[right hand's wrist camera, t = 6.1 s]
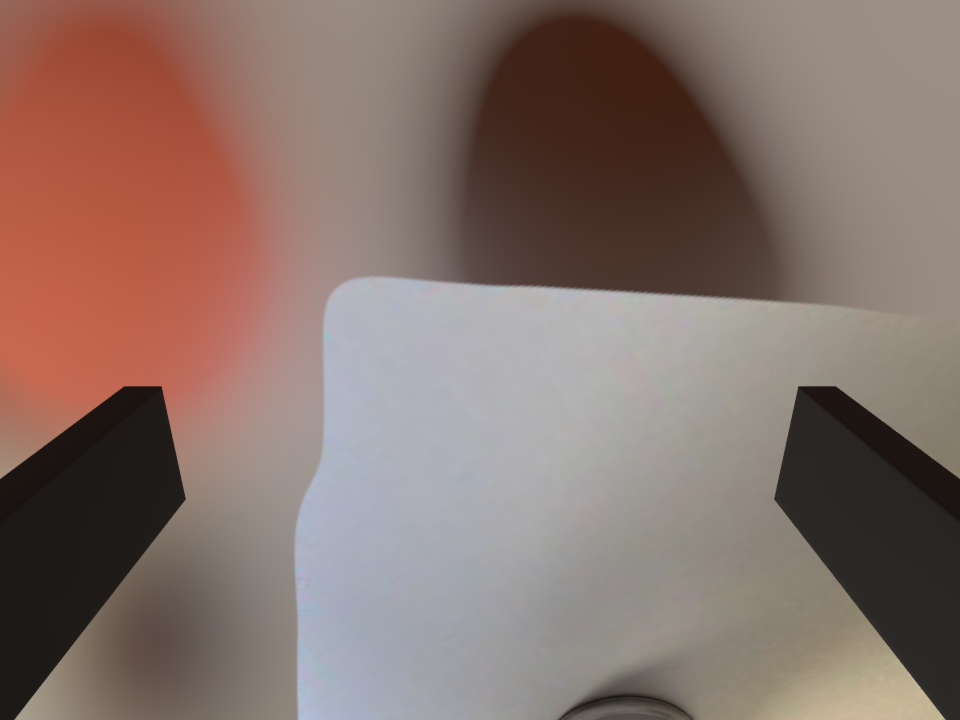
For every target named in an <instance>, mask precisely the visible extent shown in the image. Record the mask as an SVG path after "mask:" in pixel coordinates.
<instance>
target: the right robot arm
mask: <svg viewBox="0 0 960 720" xmlns="http://www.w3.org/2000/svg"><path fill="white" fill-rule="evenodd" d="M185 499H186V498H185V494H184V489H183V484H182V480H181V475H180V470H179V466H178V461H177V456H176V452H175V447H174V442H173V438H172V433H171V429H170V424H169V419H168V415H167V410H166V405H165V400H164V396H163V391H162V387H161V386H124V387H123V388H122V389H120V390H119V391H118V392H116V393H115V394H113V395H112V396H111V397H110V398H108V399H107V400H105V401H104V402H103V403H101V404H100V405H99V406H97V407H96V408H95V409H93V410H92V411H91V412H89V413H88V414H87V415H85V416H84V417H83V418H81V419H80V420H79V421H77V422H76V423H75V424H73V425H72V426H71V427H69V428H68V429H67V430H65V431H64V432H63V433H61V434H60V435H59V436H57V437H56V438H55V439H53V440H52V441H51V442H49V443H48V444H47V445H45V446H44V447H43V448H41V449H40V450H39V451H37V452H36V453H35V454H33V455H32V456H30V457H29V458H28V459H26V460H25V461H24V462H22V463H21V464H20V465H18V466H17V467H16V468H14V469H13V470H12V471H10V472H9V473H8V474H6V475H5V476H4V477H2V478H1V479H0V720H14V719H15V718H16V717H17V716H18V714H19V713H20V712H21V710H22V709H23V708H24V707H25V705H26V704H27V703H28V701H29V700H30V699H31V698H32V696H33V695H34V694H35V692H36V691H37V690H38V689H39V687H40V686H41V685H42V683H43V682H44V681H45V680H46V678H47V677H48V676H49V674H50V673H51V672H52V671H53V669H54V668H55V667H56V665H57V664H58V663H59V662H60V660H61V659H62V658H63V656H64V655H65V654H66V653H67V651H68V650H69V649H70V647H71V646H72V645H73V644H74V642H75V641H76V640H77V638H78V637H79V636H80V635H81V633H82V632H83V631H84V629H85V628H86V627H87V626H88V624H89V623H90V622H91V620H92V619H93V618H94V617H95V615H96V614H97V613H98V611H99V610H100V609H101V608H102V606H103V605H104V604H105V602H106V601H107V600H108V599H109V597H110V596H111V595H112V593H113V592H114V591H115V590H116V588H117V587H118V586H119V584H120V583H121V582H122V581H123V579H124V578H125V577H126V575H127V574H128V573H129V572H130V570H131V569H132V568H133V566H134V565H135V564H136V563H137V561H138V560H139V559H140V557H141V556H142V555H143V554H144V552H145V551H146V550H147V548H148V547H149V546H150V545H151V543H152V542H153V541H154V539H155V538H156V537H157V535H158V534H159V533H160V532H161V530H162V529H163V528H164V527H165V525H166V524H167V523H168V521H169V520H170V519H171V518H172V516H173V515H174V514H175V512H176V511H177V510H178V509H179V507H180V506H181V505H182V503H183V502H184V501H185ZM774 500H775V501H776V502H777V503H778V505H779V506H780V507H781V509H782V510H783V511H784V512H785V514H786V515H787V516H788V518H789V519H790V520H791V521H792V523H793V524H794V525H795V527H796V528H797V529H798V530H799V532H800V533H801V534H802V536H803V537H804V538H805V539H806V541H807V542H808V543H809V545H810V546H811V547H812V548H813V550H814V551H815V552H816V554H817V555H818V556H819V557H820V559H821V560H822V561H823V563H824V564H825V565H826V566H827V568H828V569H829V570H830V572H831V573H832V574H833V575H834V577H835V578H836V579H837V581H838V582H839V583H840V584H841V586H842V587H843V588H844V590H845V591H846V592H847V593H848V595H849V596H850V597H851V599H852V600H853V601H854V602H855V604H856V605H857V606H858V608H859V609H860V610H861V611H862V613H863V614H864V615H865V617H866V618H867V619H868V620H869V622H870V623H871V624H872V626H873V627H874V628H875V629H876V631H877V632H878V633H879V635H880V636H881V637H882V638H883V640H884V641H885V642H886V644H887V645H888V646H889V647H890V649H891V650H892V651H893V653H894V654H895V655H896V656H897V658H898V659H899V660H900V662H901V663H902V664H903V665H904V667H905V668H906V669H907V671H908V672H909V673H910V674H911V676H912V677H913V678H914V680H915V681H916V682H917V683H918V685H919V686H920V687H921V689H922V690H923V691H924V692H925V694H926V695H927V696H928V698H929V699H930V700H931V701H932V703H933V704H934V705H935V707H936V708H937V709H938V710H939V712H940V713H941V714H942V716H943V717H944V718H945V719H946V720H960V479H959V478H958V477H956V476H955V475H954V474H952V473H951V472H950V471H948V470H947V469H946V468H944V467H943V466H942V465H940V464H939V463H938V462H936V461H935V460H934V459H932V458H931V457H930V456H928V455H927V454H926V453H924V452H923V451H922V450H920V449H919V448H917V447H916V446H915V445H913V444H912V443H911V442H909V441H908V440H907V439H905V438H904V437H903V436H901V435H900V434H899V433H897V432H896V431H895V430H893V429H892V428H891V427H889V426H888V425H887V424H885V423H884V422H883V421H881V420H880V419H879V418H877V417H876V416H875V415H873V414H872V413H871V412H869V411H868V410H867V409H865V408H864V407H863V406H861V405H860V404H859V403H857V402H856V401H855V400H853V399H852V398H851V397H849V396H848V395H847V394H845V393H844V392H843V391H841V390H840V389H838V388H837V387H836V386H798V391H797V396H796V400H795V405H794V410H793V414H792V419H791V424H790V428H789V433H788V438H787V442H786V447H785V452H784V456H783V461H782V466H781V470H780V475H779V480H778V484H777V489H776V494H775V498H774ZM561 720H691V719H690V718H689V717H688V716H687V715H686V714H685V713H683V712H682V711H681V710H679V709H677V708H675V707H674V706H671V705H669V704H667V703H664V702H661V701H658V700H654V699H649V698H642V697H615V698H608V699H603V700H599V701H595V702H592V703H589V704H587V705H584V706H582V707H580V708H578V709H576V710H574V711H572V712H570V713H569V714H567V715H566V716H565V717H563V718H562V719H561Z"/></svg>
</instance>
